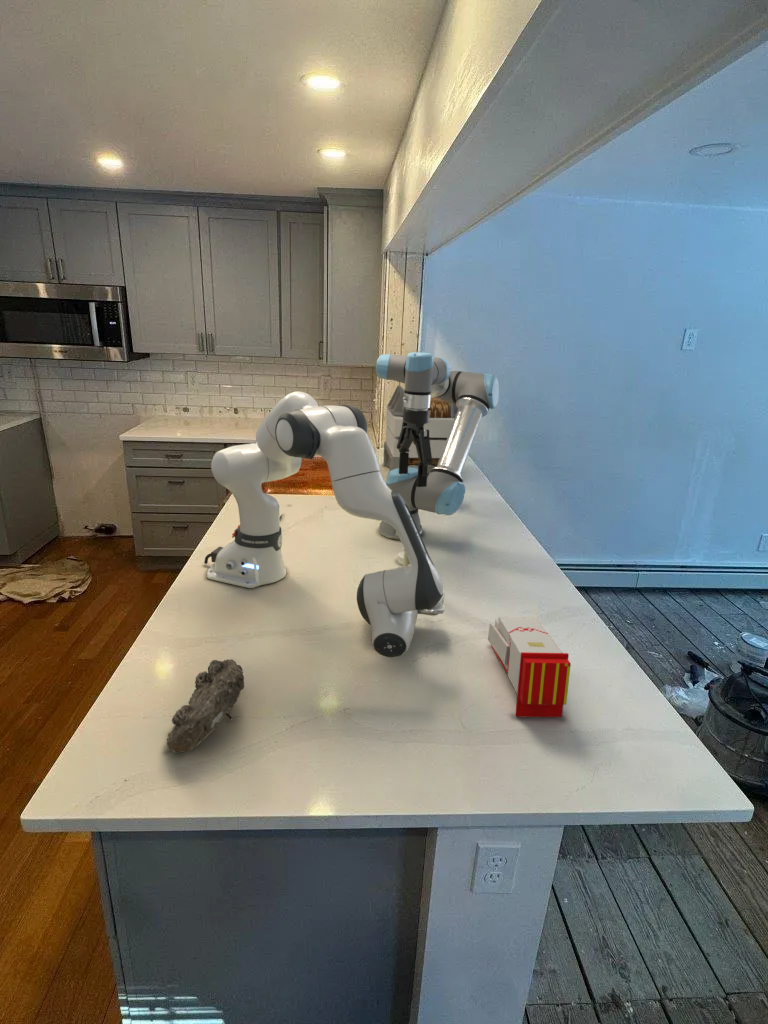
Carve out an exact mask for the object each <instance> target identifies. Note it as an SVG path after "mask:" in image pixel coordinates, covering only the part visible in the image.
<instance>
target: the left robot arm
mask: <svg viewBox="0 0 768 1024" xmlns="http://www.w3.org/2000/svg"><path fill="white" fill-rule="evenodd" d="M376 454H377V453H376V451H375V448H374V446H373V443H372V441H371V439H370V436H369V434H368V424H367V419H366V417H365V415H364V413H363V411H361V409H359V408H358V407H355V406H353V405H348V404H335V405H330V404H329V405H328V404H327V405H319V404H318V402H317V401H316V399H315V398H314V397H313V396H311V395H310V394H308V393H307V392H305V391H293V392H289V393H288V394H287V395H285V396H284V397H282V398H281V399H280V400H279V401H278V402H277V403H276V404H275V405H274V406H273V407H272V408H271V409H270V411H269V412H268V413H267V415H266V416H265V417H264V419H263V420H262V421H261V422H260V424H259V426H258V427H257V429H256V431H255V442H253V443H244V444H237V445H231V446H228V447H226V448H223V449H220V450H218V451H216V452H215V453H214V455H213V457H212V460H211V464H210V468H211V470H210V471H211V474H212V476H213V478H214V480H215V481H216V482H217V483H218V484H219V485H220V486H221V487H223V488H225V489H227V491H229V492H230V493H231V494H232V495H233V497H234V499H235V502H236V504H237V508H238V515H239V517H238V518H239V525H237V528H236V529H234V532H233V533H232V534H231V538H232V539H233V538H234V539H233V540H232V541H230V542H229V543H227V544H226V545H225V546H224V547H223V546H218V547H217V548H216V549H215V548H214V549H213V550H212V551H211V552H210V553H208V554H206V556H205V558H204V560H203V561H204V562H203V563H204V564H205V565H208V562H209V558H211V563H212V565H211V566H210V567H209V568H208V570H207V572H206V578H207V579H208V580H212V581H217V582H221V583H225V584H231V585H233V586H234V585H235V586H238V587H242V588H247V589H254V588H257V587H259V586H262V585H270V584H273V583H276V582H278V581H281V580H283V578H285V577H286V575H287V569H286V566H285V562H284V558H283V551H282V546H283V534H282V533H283V532H282V526H281V519H280V516H281V515H280V504H279V502H278V500H277V499H276V497H274V496H272V495H270V494H269V493H267V492H264V491H263V487H262V485H263V484H264V483H268V482H269V483H270V482H274V481H279V480H285V479H287V478H288V477H291V476H293V475H295V474H297V473H298V472H299V471H300V468H301V465H302V459H308V460H313V459H314V457H316V456H318V457H320V458H322V459H323V460H324V461H325V462H326V464H327V468H328V472H329V479H330V483H331V487H332V492H333V495H334V497H335V501H336V502H337V504H338V506H339V507H340V508H341V510H343V511H344V512H345V513H347V514H348V515H351V516H354V517H357V518H360V519H367V520H374V521H379V522H382V521H383V522H386V523H388V524H390V525H391V526H392V527H393V528H394V529H395V530H396V531H397V533H398V535H399V538H400V540H399V541H400V542H401V544H402V547H403V550H404V549H405V552H406V554H407V557H408V559H409V561H410V564H409V565H408V566H405V567H403V566H401V567H396V568H392V569H391V568H390V569H385V570H379V571H374V572H370V573H366V574H364V575H363V577H362V578H361V580H360V581H359V584H358V587H357V589H356V603H357V607H358V611H359V613H360V615H361V617H362V619H364V621H365V622H366V623H367V624H368V625H369V626H370V628H371V643H372V647H373V649H374V651H375V652H376V653H377V654H378V655H380V656H382V657H386V658H397V657H401V656H402V655H404V654H405V653H406V652H407V651H408V649H409V648H410V647H411V644H412V640H413V638H414V634H415V630H416V623H417V619H418V615H424V616H432V617H433V616H434V617H435V616H439V615H440V614H441V615H442V614H444V612H445V606H444V603H445V592H444V586H443V581H442V578H441V575H440V573H439V572H438V570H437V568H436V567H435V564H434V562H433V560H432V559H431V556H430V554H429V551H428V550H427V547H426V544H425V543H424V541H423V537H422V535H420V533H419V531H418V528H417V526H416V524H415V521H414V519H413V517H412V515H411V513H410V510H409V508H408V506H407V504H406V502H405V501H404V499H403V498H402V496H401V495H400V494H399V493H397V492H394V491H392V490H391V489H390V488H389V487H388V486H387V485H386V480H385V479H384V478H383V474H382V471H381V467H380V464H379V459H378V457H377V455H376Z"/></svg>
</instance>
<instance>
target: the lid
mask: <svg viewBox="0 0 768 1024" xmlns="http://www.w3.org/2000/svg"><path fill="white" fill-rule="evenodd" d="M403 559H404V551H400V552H398V554H397V560H396V561H397V563H398V564H399V565H401V566H403Z"/></svg>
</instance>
